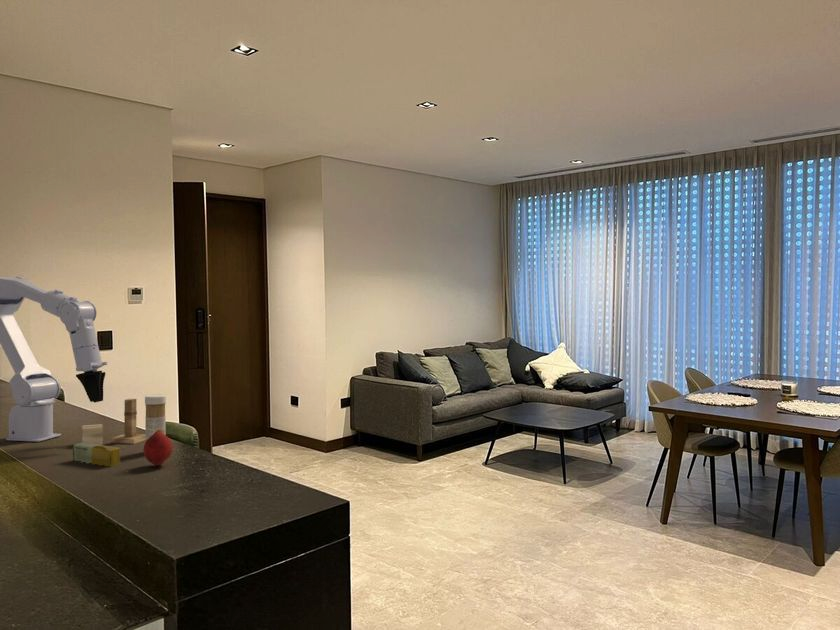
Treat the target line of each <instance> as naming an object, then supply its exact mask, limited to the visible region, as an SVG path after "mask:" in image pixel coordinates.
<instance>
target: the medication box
mask: <svg viewBox="0 0 840 630" xmlns="http://www.w3.org/2000/svg"><path fill="white" fill-rule="evenodd" d="M72 459H73V460H75V461H74V462H76V461H81V462H80V463H83V462H86V463H85V464H89V463H92V464H91V465H95V464H98V466H102V465H105V466H104V467H108V466H111V467H110V468H112V466H113V467H116V466H119V465H121V447H118V446H117V447H116V446H111V445H110V446H109V445H105V444H103V445H97V444H91V443H84V442H82V441H81V442H76V443H74V444H72Z"/></svg>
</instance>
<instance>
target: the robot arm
mask: <svg viewBox="0 0 840 630" xmlns="http://www.w3.org/2000/svg"><path fill="white" fill-rule="evenodd" d="M25 299H27V300H30V301H33V302H34V303H35V302H36V303H38V304H40V307H41V309H42V310H43V311H45V312H47V313H49V314H51V315H53V316H55V317H58V318H59V320H60V321H61V323H63V324H64V326H65V330H66V331H67V333H68V334H69V338H70V343H71V348H72V353H73V358H74V363H75V371H76V372H82V373H78V374H75V378H77V379H78V380H79V382H80V384H81V386H83V388H84V391H85V392H86V396H87V398H88V400H89V401H90V403H94V404H95V403H99V402H103V401H104V382H105V381H104V380H105V377H106V371H102V370H99V369H100V368H102V367H104V366H108V361H102V356H101V353H100V348H99V343H98V338H97V333H96V329H95V326H94V321H95V320H96V317H97V309H96V307H95V305H94V304H93V303H92V302H90V301H89V300H87V301H86V300H85V301H79V300H78V298H77V297H75V296H70V295H67V294H65V293H64V291H63V290H61V289H55V290H54V289H52V290H49V291H46V290H44V289H43V288H42V287H39V286H37V285H36V284H33V283H32V282H30V281H29V280H28V279H25V278H23V277H19V276H16V277H10V276H9V277H8V276H0V346H1V347H2V350H3V352H4V354H5V356H6V359H8V362H9V364H10V366H11V367H12V370H13V372H14V375H13V376H12V377H11V379H9V381H8V383H9V386H10V387H11V394H12V398H13V401H14V402H15V403H16V404H15V405H13V406H12V407H11V409H10V411H9V414H8V437H7V438H6V441H15V442H18V441H19V442H36V443H37V442H43V441H46V440H50V439H54V438H57V437H61V435H62V433H54V426H53V425H54V404H53V403H56V399H57V398H59V396H60V394H61V384H60V382H59V380H58V379H57V378H56V377H55V376H54V375H53V374H52V372H51V371H50V370H49V369H47V368H45V367H43V366H41V365H40V364H38V361H37V359H36V358H35V356H34V354H33V351H32V350H31V348H30V346H29V344H28V342H27V340H26V338H25V336H24V334H23V332H22V330H21V328H20V327H19V323H17V320H16V318H15V316H14V313H16V312H18V311H19V309H20V307H21V306H22V304H23V303H24V300H25Z"/></svg>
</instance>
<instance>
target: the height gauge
mask: <svg viewBox="0 0 840 630" xmlns="http://www.w3.org/2000/svg"><path fill="white" fill-rule="evenodd" d="M137 413H138V412H137V398H125V399H124V412H123V416H124V421H123V423H124V426H123V428H124V432H123V433H124V434H121V435H118V436H115V437H112V439H111V441H112V442H111V443H113V444H129V445H132V444H133V445H135V444H138V443H140V442H143V441H146V437H145V433H137V415H138V414H137Z"/></svg>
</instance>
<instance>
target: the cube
mask: <svg viewBox="0 0 840 630" xmlns="http://www.w3.org/2000/svg"><path fill="white" fill-rule="evenodd" d="M81 429H82V430H81V431H82V432H81V442H84V443H91V444H97V445H104V426H103V424H102V423H101V424H100V423H98V424H87V425H82V427H81Z"/></svg>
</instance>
